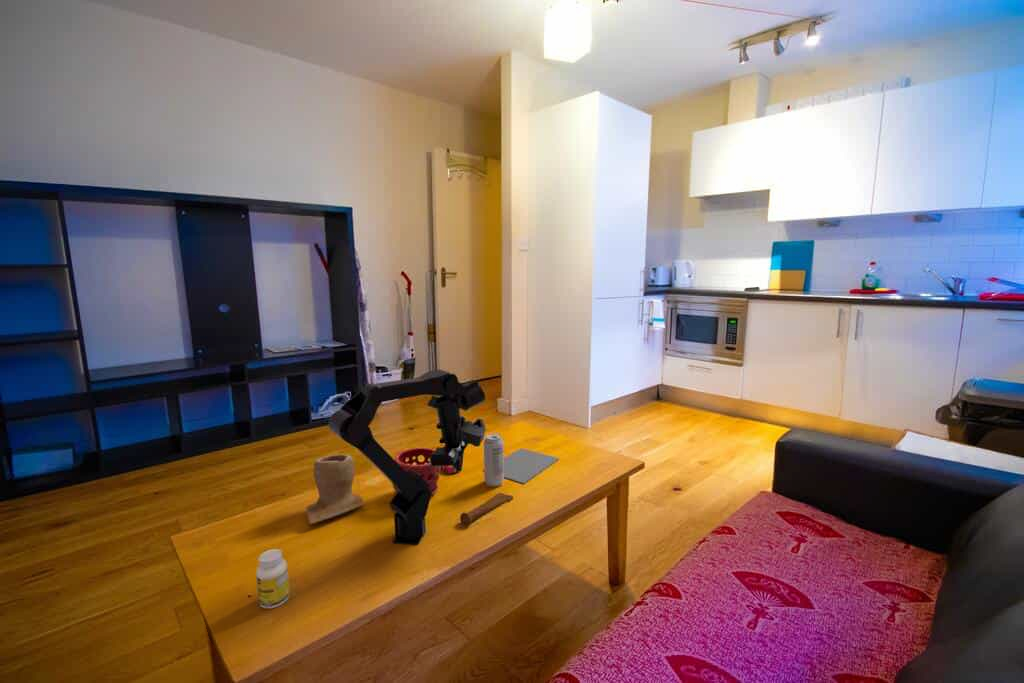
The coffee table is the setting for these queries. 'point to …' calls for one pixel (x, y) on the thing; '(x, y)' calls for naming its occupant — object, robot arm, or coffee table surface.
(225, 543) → the coffee table surface
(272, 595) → the supplement bottle
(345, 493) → the stone cup
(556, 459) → the mat
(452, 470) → the race car
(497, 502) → the primitive tool
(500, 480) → the energy drink can
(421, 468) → the plant pot
